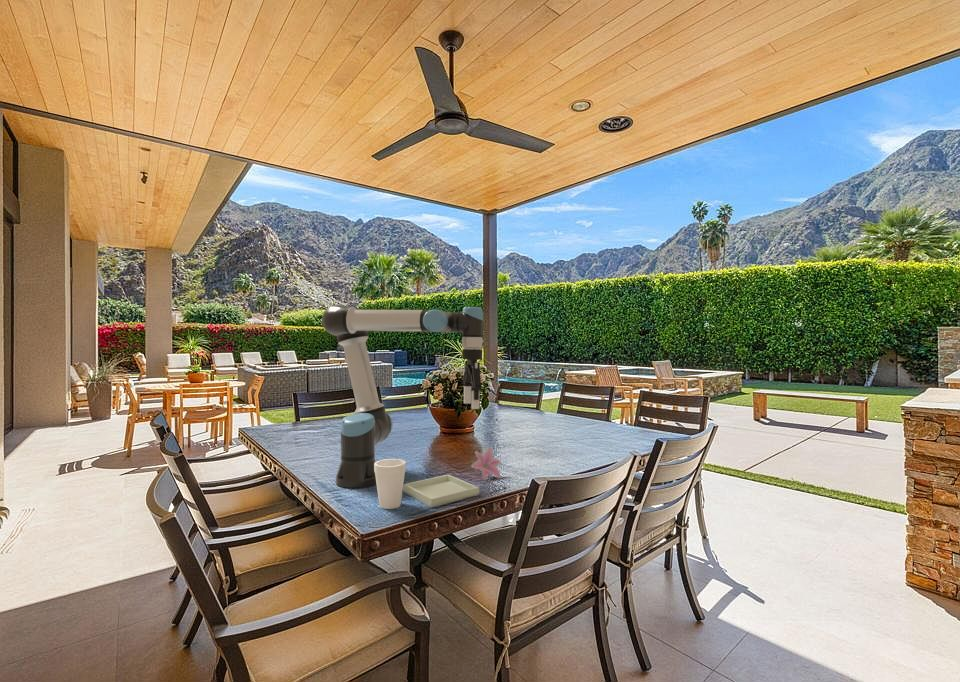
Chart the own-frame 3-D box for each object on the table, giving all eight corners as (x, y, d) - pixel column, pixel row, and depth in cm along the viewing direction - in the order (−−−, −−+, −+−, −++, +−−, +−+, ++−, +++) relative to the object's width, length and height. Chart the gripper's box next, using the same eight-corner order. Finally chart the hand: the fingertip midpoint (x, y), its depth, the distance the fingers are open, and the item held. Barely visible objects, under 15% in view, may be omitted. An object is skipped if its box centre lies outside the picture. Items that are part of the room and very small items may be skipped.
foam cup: (402, 511, 136) (402, 467, 136) (371, 510, 136) (371, 467, 136) (407, 499, 145) (407, 458, 145) (378, 499, 146) (378, 458, 145)
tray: (431, 507, 139) (431, 499, 139) (403, 491, 153) (403, 484, 153) (478, 495, 150) (478, 487, 150) (448, 481, 164) (448, 474, 164)
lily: (465, 482, 166) (474, 462, 163) (466, 461, 177) (475, 442, 173) (496, 491, 168) (506, 471, 164) (496, 470, 178) (504, 451, 175)
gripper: (490, 349, 159) (489, 411, 159) (474, 347, 183) (473, 401, 183) (469, 349, 157) (468, 411, 157) (456, 347, 181) (455, 401, 181)
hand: (471, 406), depth 170 cm, fingers open, 13 cm apart
